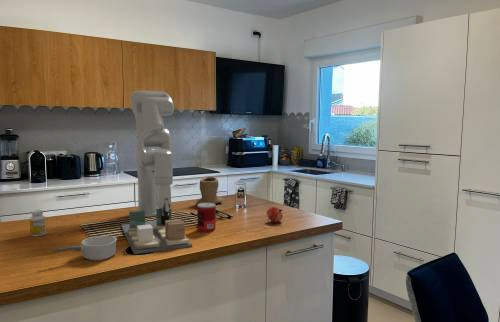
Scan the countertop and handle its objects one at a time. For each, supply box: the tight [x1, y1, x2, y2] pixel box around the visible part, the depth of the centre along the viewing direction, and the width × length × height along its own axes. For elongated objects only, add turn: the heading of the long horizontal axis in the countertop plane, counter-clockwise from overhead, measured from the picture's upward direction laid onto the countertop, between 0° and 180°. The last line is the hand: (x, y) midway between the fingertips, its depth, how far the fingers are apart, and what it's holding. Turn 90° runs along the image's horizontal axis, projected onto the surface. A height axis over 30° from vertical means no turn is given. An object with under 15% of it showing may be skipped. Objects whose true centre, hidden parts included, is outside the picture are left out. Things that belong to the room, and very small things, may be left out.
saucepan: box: [53, 235, 118, 261], centre depth 132 cm, size 12×20×6 cm, turn 131°
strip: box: [155, 207, 190, 246], centre depth 155 cm, size 25×8×8 cm, turn 25°
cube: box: [165, 218, 186, 240], centre depth 148 cm, size 6×6×6 cm
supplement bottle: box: [29, 209, 47, 237], centre depth 157 cm, size 5×5×10 cm
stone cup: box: [196, 176, 224, 204], centre depth 216 cm, size 15×12×15 cm
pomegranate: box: [266, 206, 284, 224], centre depth 181 cm, size 7×7×10 cm
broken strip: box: [128, 210, 159, 249], centre depth 150 cm, size 25×8×8 cm, turn 25°
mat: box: [120, 220, 193, 255], centre depth 158 cm, size 37×21×1 cm, turn 25°
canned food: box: [196, 203, 217, 233], centre depth 167 cm, size 8×8×11 cm
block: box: [137, 224, 153, 243], centre depth 145 cm, size 5×5×5 cm
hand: (163, 222), depth 166 cm, fingers open, 3 cm apart
